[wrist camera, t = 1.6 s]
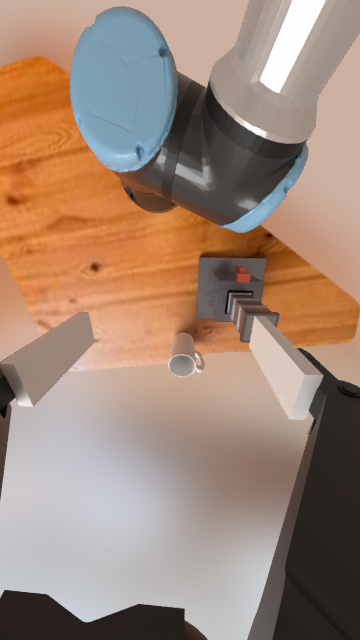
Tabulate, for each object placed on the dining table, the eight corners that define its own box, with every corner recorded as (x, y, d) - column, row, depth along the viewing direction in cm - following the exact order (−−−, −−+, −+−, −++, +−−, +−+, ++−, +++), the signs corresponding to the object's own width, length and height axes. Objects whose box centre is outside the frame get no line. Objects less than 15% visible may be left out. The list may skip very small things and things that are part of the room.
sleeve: (199, 257, 45) (202, 262, 33) (264, 258, 44) (290, 263, 32) (196, 316, 51) (198, 337, 40) (253, 318, 50) (271, 340, 39)
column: (221, 281, 45) (245, 313, 25) (239, 282, 45) (279, 314, 25) (219, 299, 47) (241, 342, 27) (236, 299, 47) (272, 343, 27)
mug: (168, 344, 55) (163, 369, 44) (179, 327, 53) (176, 349, 42) (196, 358, 57) (198, 386, 46) (208, 342, 54) (212, 367, 43)
